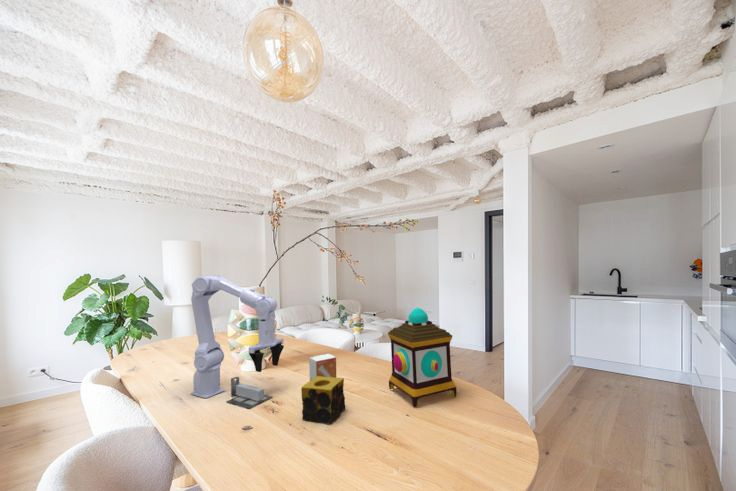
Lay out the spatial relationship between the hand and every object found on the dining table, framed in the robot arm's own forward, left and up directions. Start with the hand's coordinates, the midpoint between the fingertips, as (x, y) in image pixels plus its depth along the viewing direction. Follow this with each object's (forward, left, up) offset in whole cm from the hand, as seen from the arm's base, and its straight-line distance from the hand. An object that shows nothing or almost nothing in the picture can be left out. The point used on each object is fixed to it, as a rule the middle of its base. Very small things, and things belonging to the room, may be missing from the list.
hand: (267, 368), depth 112 cm
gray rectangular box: (-3, -5, -8) cm, 10 cm away
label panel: (-2, -6, -9) cm, 11 cm away
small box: (+18, +10, -10) cm, 23 cm away
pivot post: (-11, -5, -9) cm, 15 cm away
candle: (+29, -3, -10) cm, 31 cm away
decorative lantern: (+50, +25, -10) cm, 57 cm away
